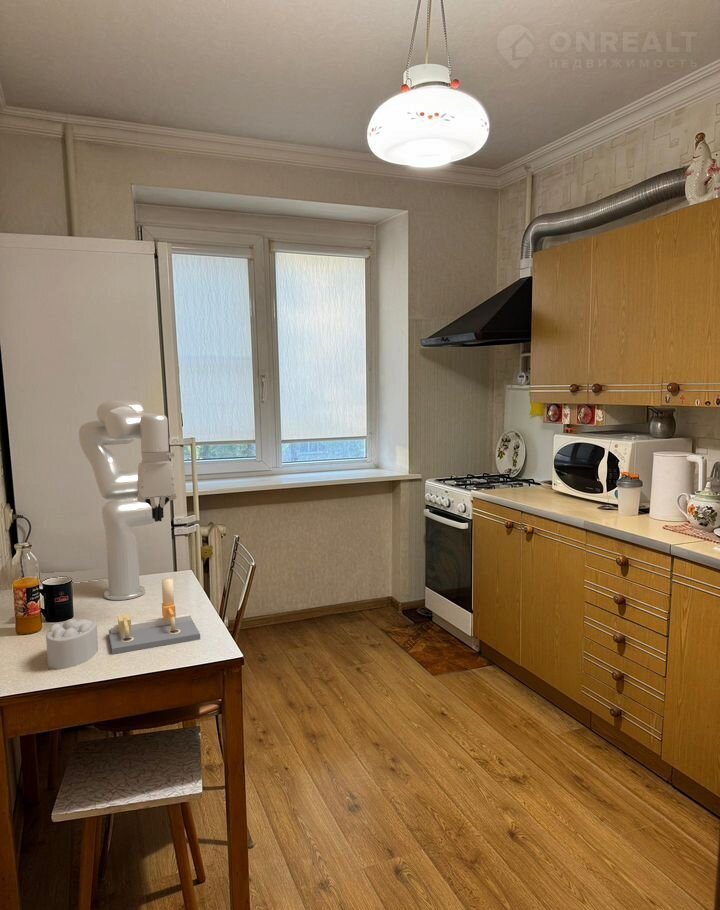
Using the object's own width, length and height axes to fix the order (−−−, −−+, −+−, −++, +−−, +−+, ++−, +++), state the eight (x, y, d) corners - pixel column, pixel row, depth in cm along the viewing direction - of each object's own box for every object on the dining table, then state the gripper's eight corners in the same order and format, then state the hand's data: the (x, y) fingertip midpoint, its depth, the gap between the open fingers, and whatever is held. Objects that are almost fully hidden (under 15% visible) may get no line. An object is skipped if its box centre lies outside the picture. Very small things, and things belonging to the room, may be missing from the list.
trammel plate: (108, 635, 172) (107, 617, 171) (190, 621, 181) (190, 604, 180) (112, 654, 159) (111, 634, 159) (200, 639, 168) (199, 620, 168)
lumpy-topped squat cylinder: (103, 647, 164) (101, 615, 163) (79, 669, 151) (77, 634, 150) (63, 647, 164) (62, 615, 163) (36, 669, 151) (34, 634, 150)
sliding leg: (162, 620, 177) (160, 578, 176) (173, 618, 179) (171, 577, 177) (167, 631, 169) (165, 588, 167) (179, 629, 170) (177, 586, 169)
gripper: (179, 455, 186) (182, 516, 188) (126, 457, 180) (129, 520, 182) (184, 457, 179) (186, 520, 181) (128, 460, 173) (131, 525, 175)
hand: (158, 520), depth 181 cm, fingers closed
